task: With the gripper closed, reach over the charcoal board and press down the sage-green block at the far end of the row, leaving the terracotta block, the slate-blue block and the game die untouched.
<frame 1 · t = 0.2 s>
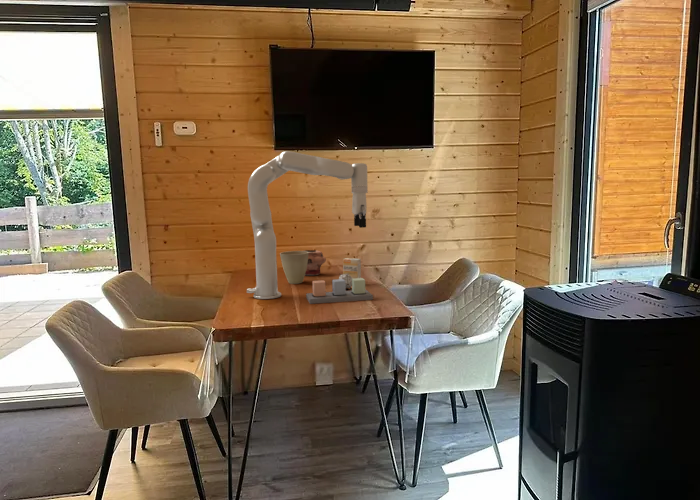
hand: (360, 226, 232), 31 cm above the table, tool pointing down, fingers open, 9 cm apart
terracotta block: (319, 288, 217), point 5 cm above the table, slide at 0.0 cm
board: (339, 298, 220), on the table
plant pot: (295, 283, 258), on the table
game die: (345, 289, 240), on the table
slate block: (338, 287, 219), point 5 cm above the table, slide at 0.0 cm
sage block: (358, 285, 221), point 5 cm above the table, slide at 0.0 cm
decorative planter: (308, 275, 281), on the table
supplement box: (352, 284, 253), on the table
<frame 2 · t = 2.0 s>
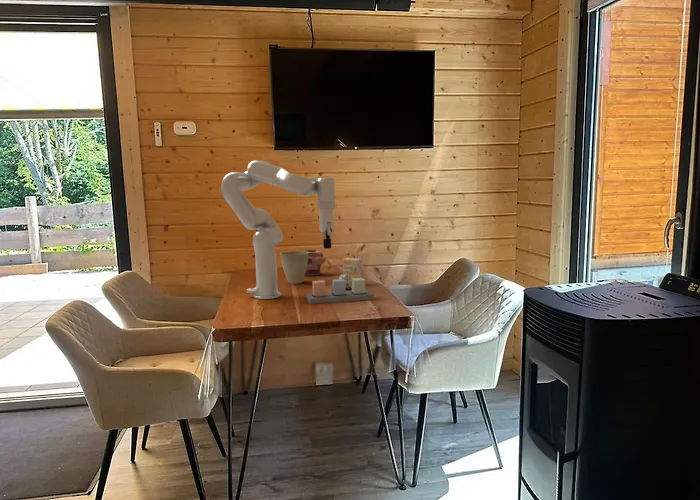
hand: (327, 247, 216), 23 cm above the table, tool pointing down, fingers closed
nothing on the table moved.
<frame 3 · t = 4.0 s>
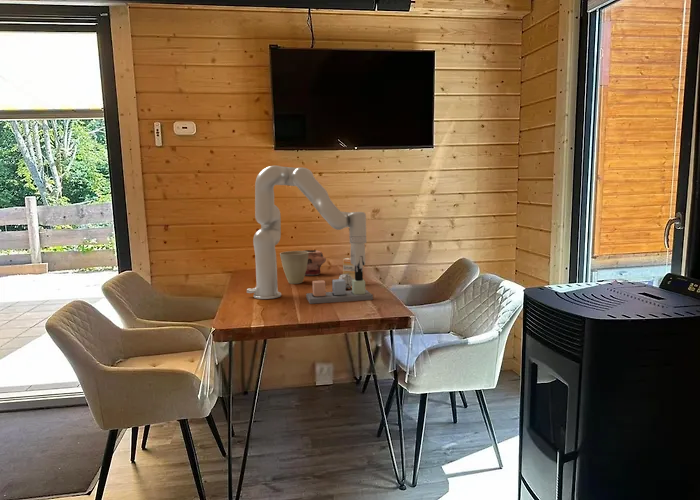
hand: (358, 280, 221), 8 cm above the table, tool pointing down, fingers closed
sage block: (358, 286, 221), point 5 cm above the table, slide at 0.5 cm, touching gripper
everything else where it was.
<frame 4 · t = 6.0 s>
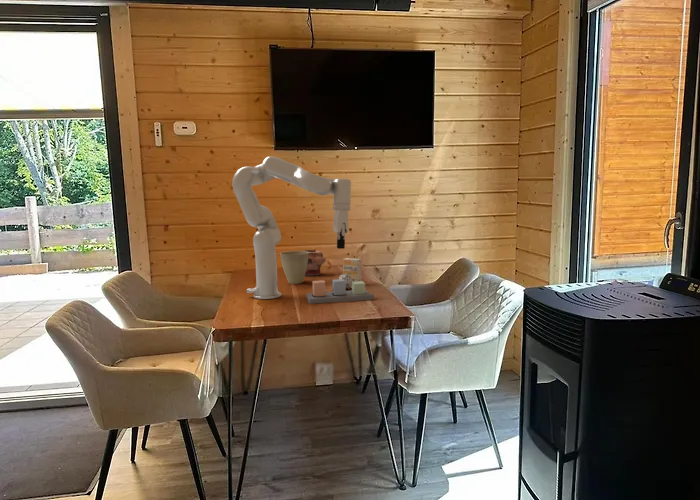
hand: (340, 248, 218), 23 cm above the table, tool pointing down, fingers closed
sage block: (358, 289, 221), point 4 cm above the table, slide at 1.5 cm
everything else where it was.
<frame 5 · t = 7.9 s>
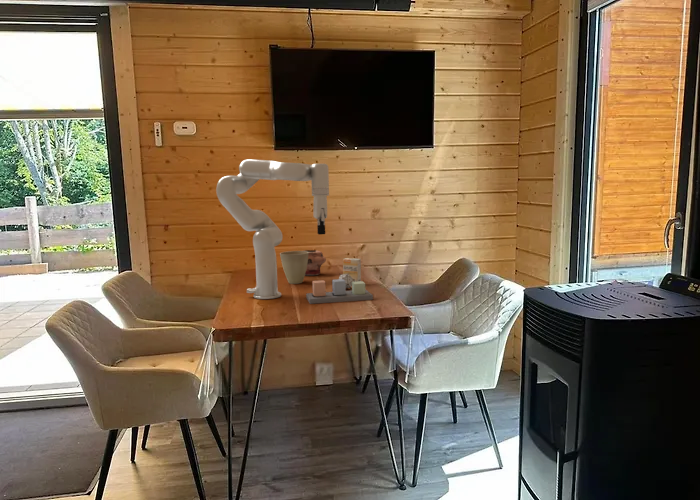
hand: (321, 234, 217), 29 cm above the table, tool pointing down, fingers closed
nothing on the table moved.
at the end: sage block slide at 1.5 cm; terracotta block slide at 0.0 cm; slate block slide at 0.0 cm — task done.
